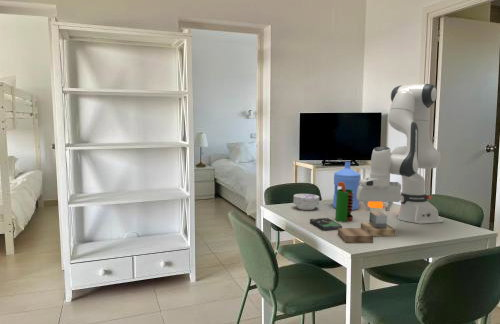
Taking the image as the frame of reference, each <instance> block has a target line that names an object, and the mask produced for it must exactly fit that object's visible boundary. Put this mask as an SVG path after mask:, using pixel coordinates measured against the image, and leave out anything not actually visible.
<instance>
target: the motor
mask: <svg viewBox="0 0 500 324" xmlns="http://www.w3.org/2000/svg"><path fill="white" fill-rule="evenodd" d="M338 187H340V188H339V189H338V188H337V197H336V208H335V218H334V219H335V220H336V221H338V222H342V223H347V222H353V219H354V218H353V215H352V214H351V213H352V212H353V210H352V208H353V206H351V205H353V203H351V202H353V200H352V199H353V193H352V190H350V189H346V188H345V184H344V183H343V182H339V184H338ZM341 187H342V188H343V189H341Z"/></svg>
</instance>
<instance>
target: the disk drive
mask: <svg viewBox="0 0 500 324" xmlns="http://www.w3.org/2000/svg"><path fill="white" fill-rule="evenodd" d="M309 224H310V225H312V226H314V227H316V228H318V229H319V230H321V231H323V232H327V231H338V228H343V226H342V224H340V223H339V222H336V221H334V220H333V219H330V218H328V217H322V218H321V217H318V218H310V219H309Z"/></svg>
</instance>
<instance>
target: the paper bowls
mask: <svg viewBox="0 0 500 324" xmlns="http://www.w3.org/2000/svg"><path fill="white" fill-rule="evenodd" d="M292 201H293V204H294V205H296V208H298V209H299V210H301V211H312V210H315V209H316V207H317V206H319V205H320V196H319V195H316V194H314V193H313V194H311V193H295V194H293V200H292Z"/></svg>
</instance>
